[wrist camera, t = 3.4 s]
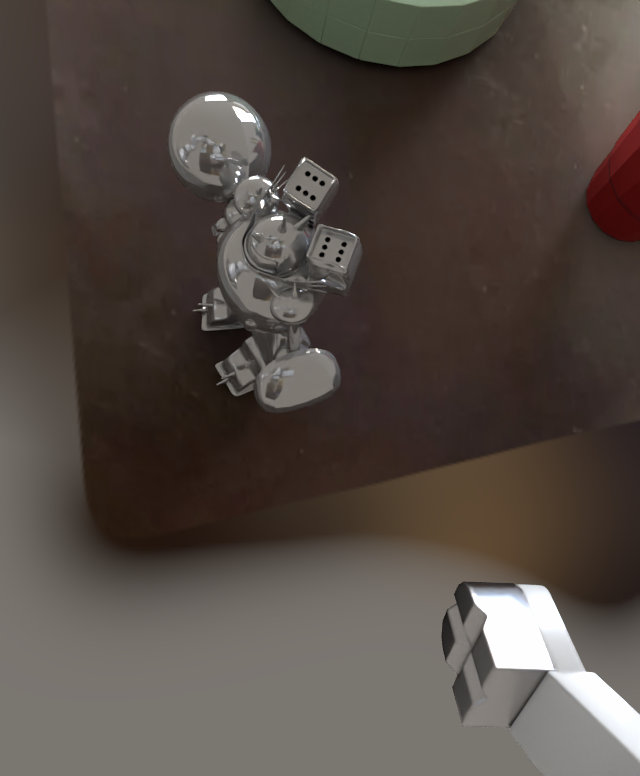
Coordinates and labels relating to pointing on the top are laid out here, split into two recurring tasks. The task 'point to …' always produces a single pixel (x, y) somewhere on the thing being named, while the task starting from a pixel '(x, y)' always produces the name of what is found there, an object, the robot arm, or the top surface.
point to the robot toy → (264, 251)
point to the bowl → (399, 27)
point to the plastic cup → (618, 188)
